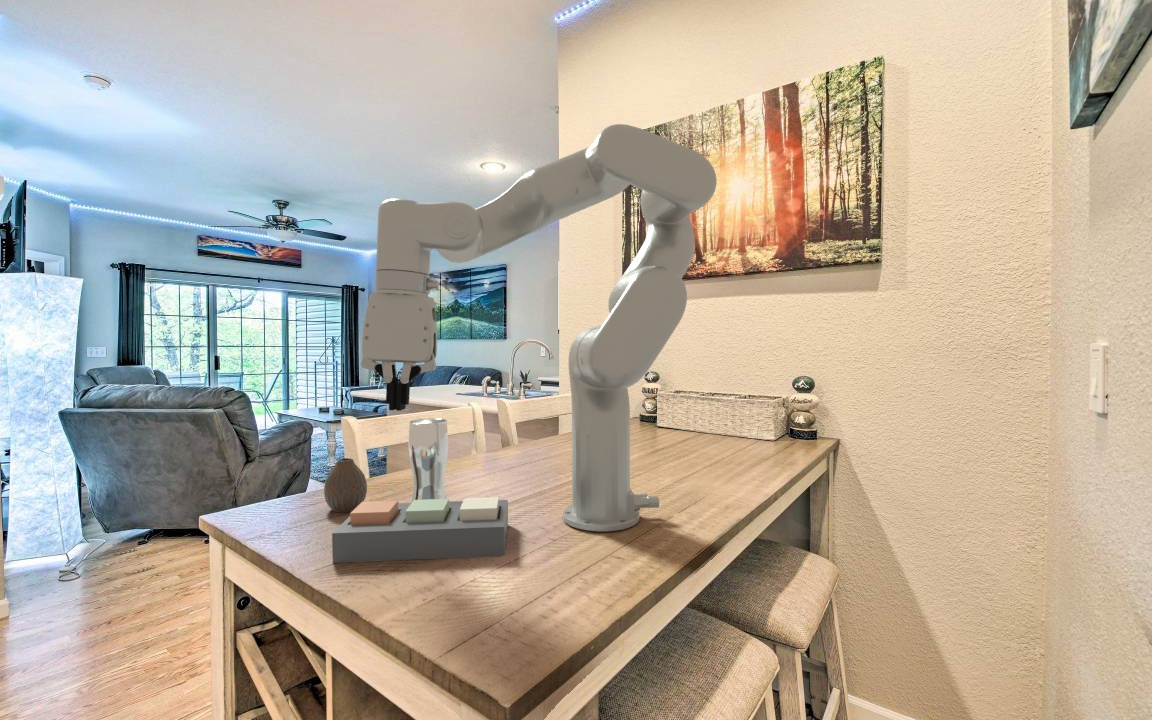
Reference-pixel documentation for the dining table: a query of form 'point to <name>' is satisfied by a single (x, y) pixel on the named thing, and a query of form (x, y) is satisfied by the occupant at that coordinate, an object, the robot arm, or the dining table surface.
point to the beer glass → (428, 457)
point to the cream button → (479, 509)
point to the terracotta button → (374, 512)
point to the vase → (345, 486)
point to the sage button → (428, 510)
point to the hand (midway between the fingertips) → (397, 409)
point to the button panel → (421, 538)
